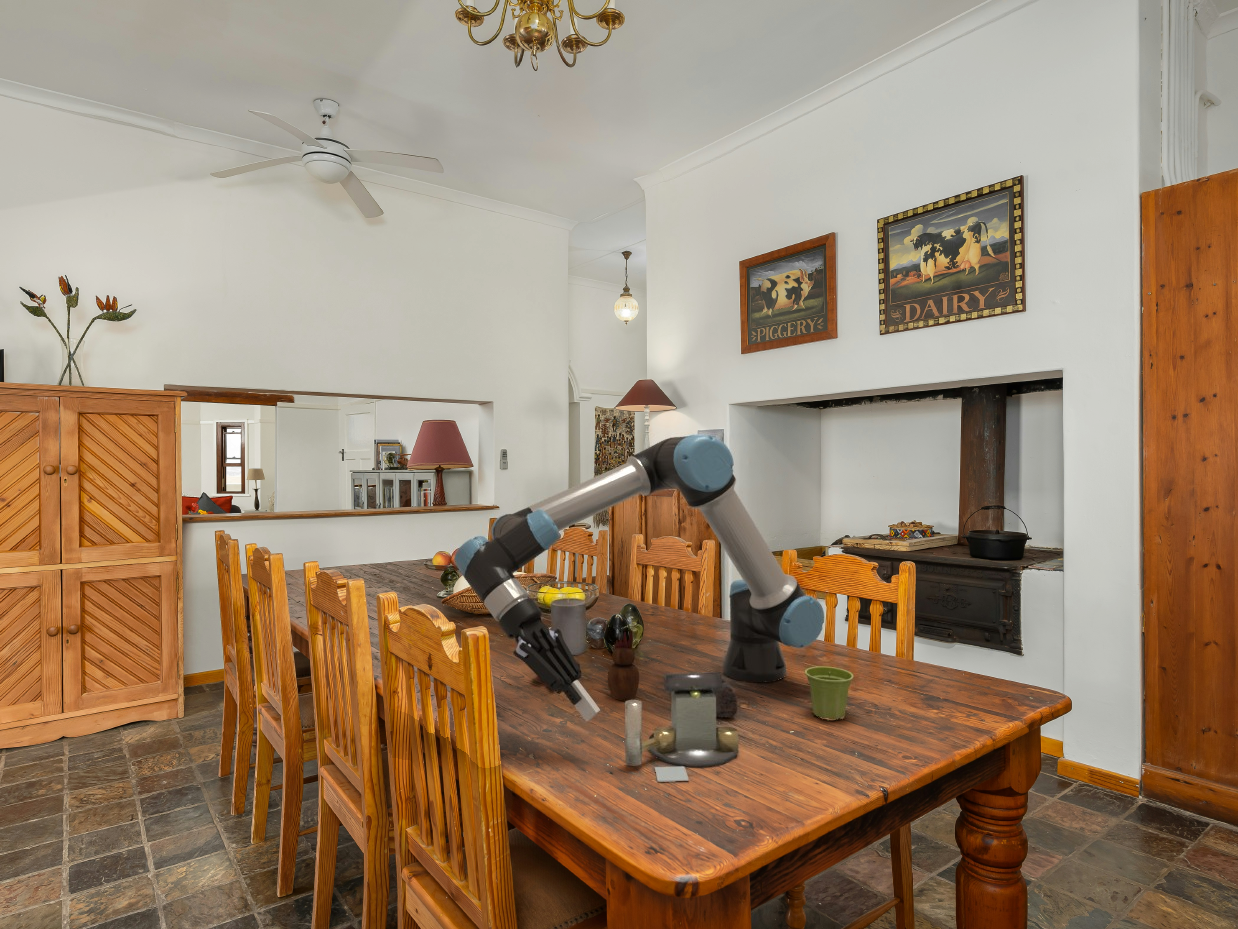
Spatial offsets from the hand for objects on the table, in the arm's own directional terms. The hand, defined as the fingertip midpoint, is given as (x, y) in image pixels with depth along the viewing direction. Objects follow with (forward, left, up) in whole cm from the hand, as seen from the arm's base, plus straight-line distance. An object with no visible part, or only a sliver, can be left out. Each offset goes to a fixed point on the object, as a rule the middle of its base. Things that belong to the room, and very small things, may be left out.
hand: (593, 715), depth 117 cm
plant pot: (-48, -18, -8) cm, 52 cm away
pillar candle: (+6, -70, -8) cm, 71 cm away
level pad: (-13, +6, -8) cm, 16 cm away
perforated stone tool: (-26, -23, -8) cm, 36 cm away
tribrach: (-18, -4, -8) cm, 20 cm away
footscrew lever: (-10, +1, -7) cm, 12 cm away
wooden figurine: (-7, -31, -8) cm, 33 cm away
